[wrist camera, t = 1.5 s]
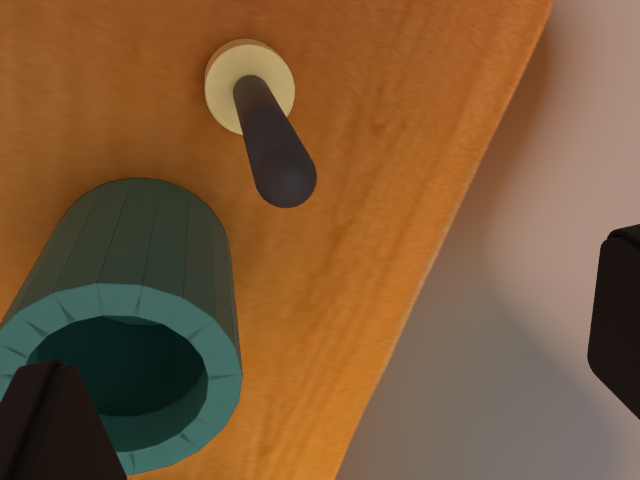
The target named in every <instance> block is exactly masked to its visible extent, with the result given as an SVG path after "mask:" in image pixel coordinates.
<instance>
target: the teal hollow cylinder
mask: <svg viewBox="0 0 640 480" xmlns="http://www.w3.org/2000/svg"><path fill="white" fill-rule="evenodd" d="M55 358H58V359H60V360H61V361H62V362H63V363H64V364H65V365H69V364H73V365H75V366H76V368H77V369H78V371H79V373H80V376H81V378H82V380H83V382H84V384H85V386H86V389H87V391H88V393H89V395H90V397H91V399H92V402H93V404H94V406H95V408H96V410H97V412H98V415H99V417H100V419H101V421H102V423H103V425H104V428H105V430H106V432H107V434H108V436H109V438H110V441H111V443H112V445H113V447H114V449H115V452H116V454H117V456H118V458H119V460H120V462H121V465H122V467H123V469H124V471H125V473H126V475H133V474H135V473H136V474H139V473H143V472H147V471H150V470H154V469H158V468H162V467H166V466H169V465H173V464H174V463H176V462H178V461H180V460H182V459H184V458H186V457H188V456H190V455H192V454H194V453H196V452H197V451H199V450H200V449H202V448H203V447H204V446H205V445H206V444H207V443H208V442H209V441H211V440H212V439H213V438H214V437H215V436H216V435H217V434H218V433H219V432H220V431H221V430H222V429H223V428H224V427H225V426H226V424H227V422H228V420H229V419H230V417H231V415H232V413H233V412H234V410H235V408H236V406H237V404H238V402H239V398H240V391H241V383H242V376H243V373H242V363H241V353H240V343H239V332H238V322H237V313H236V303H235V293H234V283H233V273H232V263H231V254H230V250H229V245H228V239H227V236H226V233H225V230H224V228H223V226H222V224H221V222H220V220H219V219H218V218H217V216H216V215H215V213H214V212H213V211H212V210H211V209H210V208H209V206H208V205H207V204H205V203H204V202H203V201H202V200H201V199H200V198H198V197H197V196H195V195H194V194H192V193H191V192H189V191H187V190H185V189H183V188H181V187H179V186H177V185H174V184H171V183H168V182H164V181H160V180H155V179H145V178H130V179H123V180H117V181H113V182H110V183H106V184H104V185H101V186H99V187H96V188H95V189H93V190H91V191H89V192H87V193H86V194H85V195H83V196H82V197H81V198H79V199H78V200H77V201H76V202H75V203H74V204H73V205H72V206H71V207H70V208H69V210H68V211H67V212H66V214H65V215H64V217H63V218H62V219H61V220H60V221H59V223H58V225H57V226H56V228H55V230H54V232H53V233H52V235H51V237H50V239H49V240H48V242H47V244H46V245H45V247H44V249H43V251H42V252H41V254H40V256H39V258H38V259H37V261H36V263H35V264H34V266H33V268H32V270H31V271H30V273H29V275H28V277H27V278H26V280H25V282H24V283H23V285H22V287H21V289H20V290H19V292H18V294H17V295H16V297H15V299H14V301H13V302H12V304H11V306H10V308H9V309H8V311H7V313H6V315H5V316H4V318H3V320H2V321H1V323H0V402H1V400H2V398H3V396H4V394H5V392H6V390H7V388H8V386H9V384H10V382H11V380H12V378H13V376H14V374H15V372H16V370H17V369H18V368H19V367H21V366H24V365H29V364H33V363H37V362H42V361H46V360H50V359H55Z"/></svg>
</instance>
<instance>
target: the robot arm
mask: <svg viewBox="0 0 640 480" xmlns="http://www.w3.org/2000/svg"><path fill="white" fill-rule="evenodd" d="M587 358H588V363H589V365H590V368H591V369H592V371H593V373H594V374H595V375H596V376H597V377H598V378H599V379H600V380H601V381H602V382H603V383H604V384H605V385H606V386H607V387H608V388H609V389H610V390H611V391H612V392H613V393H614V394H615V395H616V396H617V397H618V398H619V399H620V400H621V401H622V402H623V403H624V404H625V405H626V407H628V409H629V410H631V412H632V413H633V414H635V416H636V417H638V419H639V420H640V224H638V225H634V226H630V227H625V228H620V229H616V230H613V231H612V232H611V233H610V234H609V235H608V237H607V240H605V241H604V242H603V243H602V245H601V248H600V257H599V264H598V272H597V280H596V289H595V297H594V305H593V313H592V322H591V330H590V337H589V345H588V354H587ZM0 480H127V476H126V473H125V471H124V469H123V467H122V465H121V462H120V460H119V458H118V456H117V454H116V452H115V449H114V447H113V445H112V443H111V441H110V438H109V436H108V434H107V432H106V430H105V428H104V425H103V423H102V421H101V419H100V417H99V415H98V412H97V410H96V408H95V406H94V404H93V402H92V399H91V397H90V395H89V393H88V391H87V389H86V386H85V384H84V382H83V380H82V378H81V376H80V373H79V371H78V369H77V368H76V366H75V365H73V364H69V365H65V364H64V363H63V362H62V361H61V360H60V359H58V358H55V359H50V360H46V361H42V362H37V363H33V364H29V365H24V366H21V367H19V368H18V369H17V370H16V372H15V374H14V376H13V378H12V380H11V382H10V384H9V386H8V388H7V390H6V392H5V394H4V396H3V398H2V400H1V402H0Z"/></svg>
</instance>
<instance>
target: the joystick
mask: <svg viewBox="0 0 640 480" xmlns="http://www.w3.org/2000/svg"><path fill="white" fill-rule="evenodd" d="M204 84H205V98H206V102H207V105H208V108H209V110H210V112H211V113H212V115H213V117H214V118H215V119H216V120H217V121H218V122H219V123H220V124H221V125H222V126H223V127H225V128H226V129H228V130H229V131H231V132H234V133H236V134H240V135H243V137H244V141H245V145H246V149H247V153H248V157H249V161H250V165H251V169H252V173H253V177H254V181H255V185H256V188H257V190H258V192H259V193H260V195H261V196H262V198H263V199H264V200H265V201H267V202H268V203H270V204H272V205H274V206H276V207H280V208H292V207H296V206H298V205H300V204H302V203H304V202H305V201H306V200H307V199H308V198H309V197H310V196H311V194H312V193H313V191H314V188H315V185H316V180H317V173H316V169H315V165H314V163H313V161H312V159H311V158H310V156H309V154H308V153H307V151H306V149H305V148H304V146H303V144H302V143H301V141H300V139H299V137H298V136H297V134H296V132H295V131H294V129H293V127H292V126H291V124H290V122H289V121H288V119H287V116H288V115H289V113H290V111H291V109H292V106H293V103H294V98H295V84H294V79H293V76H292V73H291V71H290V69H289V67H288V66H287V64H286V63H285V61H284V60H283V59H282V58H281V57H280V56H279V55H278V54H277V53H276V52H275V51H274V50H273V49H272V48H271V47H269V46H268V45H266V44H265V43H262V42H260V41H257V40H253V39H237V40H233V41H230V42H228V43H226V44H224V45H222V46H221V47H220V48H219V49H217V50H216V52H215V53H214V54H213V55H212V57H211V58H210V60H209V62H208V64H207V67H206V71H205V78H204Z"/></svg>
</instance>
